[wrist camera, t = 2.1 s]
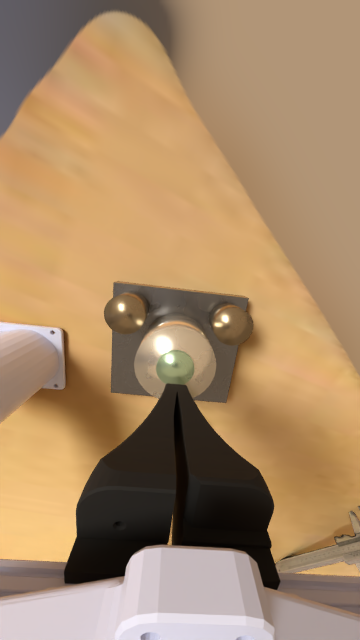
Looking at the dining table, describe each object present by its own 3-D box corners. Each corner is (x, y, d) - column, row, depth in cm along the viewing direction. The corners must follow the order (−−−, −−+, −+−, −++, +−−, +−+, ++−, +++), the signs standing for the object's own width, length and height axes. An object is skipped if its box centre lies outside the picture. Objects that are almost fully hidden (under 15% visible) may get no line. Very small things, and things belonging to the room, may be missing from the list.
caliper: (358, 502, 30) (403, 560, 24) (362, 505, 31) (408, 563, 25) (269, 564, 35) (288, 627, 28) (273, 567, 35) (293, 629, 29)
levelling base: (112, 455, 27) (91, 517, 20) (118, 281, 20) (89, 287, 14) (227, 464, 27) (243, 526, 21) (267, 298, 21) (308, 312, 14)
